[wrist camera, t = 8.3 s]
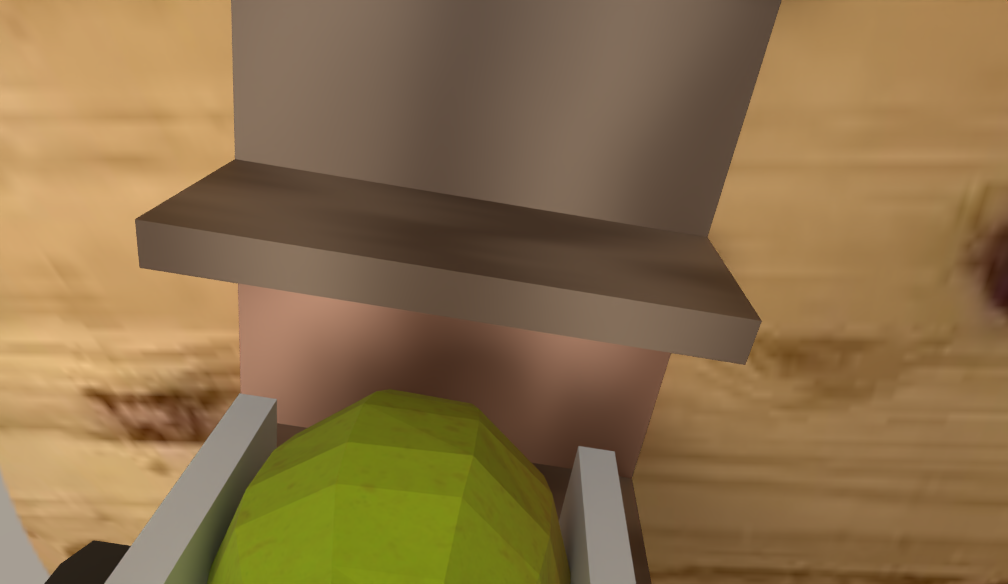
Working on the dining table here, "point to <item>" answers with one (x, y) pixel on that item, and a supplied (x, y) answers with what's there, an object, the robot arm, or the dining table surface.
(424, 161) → the rack
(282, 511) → the fruit
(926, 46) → the dining table surface
